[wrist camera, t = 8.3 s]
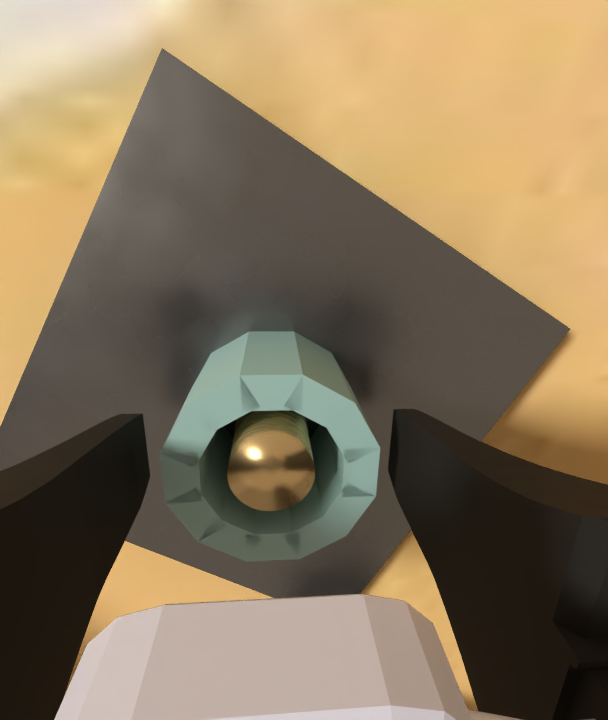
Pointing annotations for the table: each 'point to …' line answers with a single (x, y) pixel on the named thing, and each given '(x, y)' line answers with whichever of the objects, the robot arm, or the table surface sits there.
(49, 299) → the table surface
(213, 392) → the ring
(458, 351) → the hub plate
